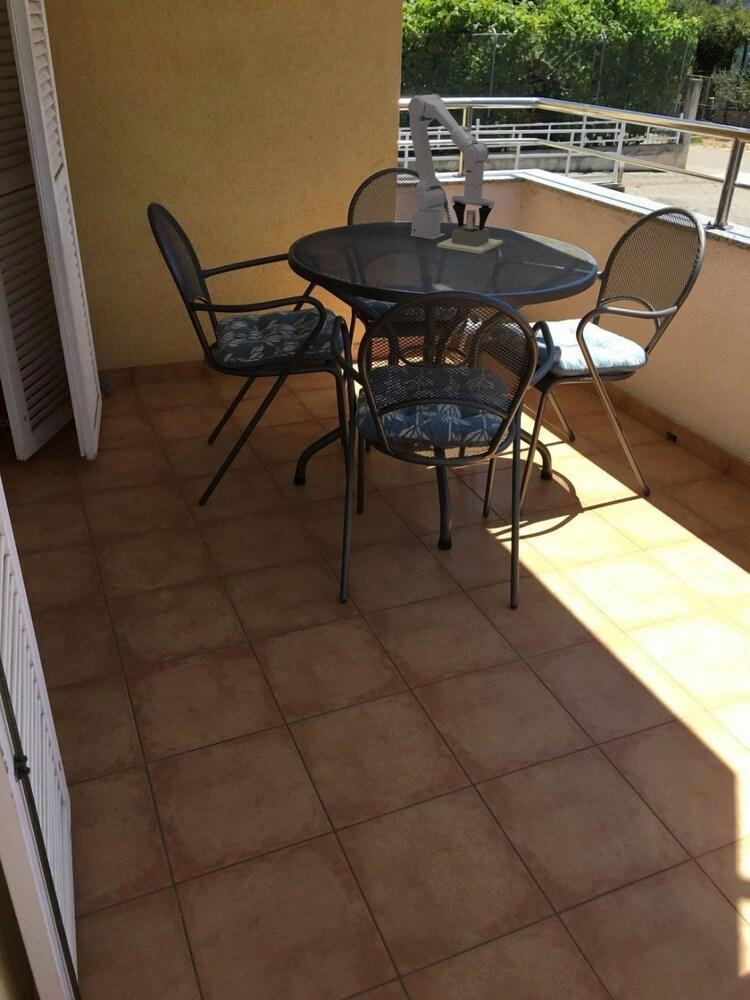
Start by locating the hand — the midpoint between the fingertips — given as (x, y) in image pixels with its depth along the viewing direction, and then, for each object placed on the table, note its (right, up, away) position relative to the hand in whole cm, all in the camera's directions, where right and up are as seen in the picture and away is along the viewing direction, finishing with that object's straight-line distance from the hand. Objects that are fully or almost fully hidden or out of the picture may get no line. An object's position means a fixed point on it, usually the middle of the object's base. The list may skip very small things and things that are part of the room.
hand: (471, 227), depth 272 cm
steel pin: (0, -4, +2) cm, 5 cm away
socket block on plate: (0, -5, +3) cm, 6 cm away
